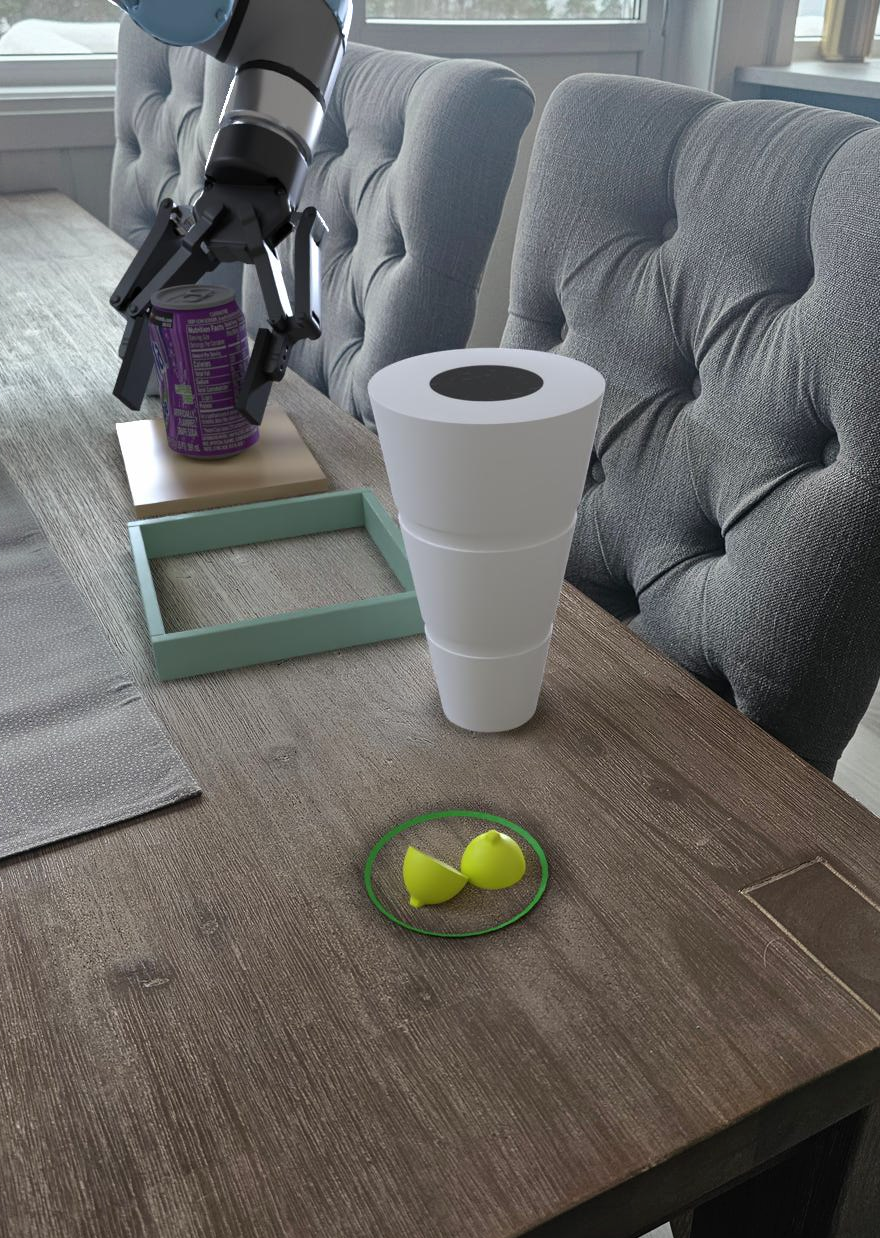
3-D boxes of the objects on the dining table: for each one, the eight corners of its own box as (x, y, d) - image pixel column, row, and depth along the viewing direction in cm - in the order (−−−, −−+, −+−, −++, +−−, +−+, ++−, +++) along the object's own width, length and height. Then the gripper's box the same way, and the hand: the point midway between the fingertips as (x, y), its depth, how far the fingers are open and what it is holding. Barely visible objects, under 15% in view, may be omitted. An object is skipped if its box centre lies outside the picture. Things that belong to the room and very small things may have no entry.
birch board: (328, 496, 85) (327, 478, 84) (138, 525, 81) (134, 505, 80) (282, 419, 99) (280, 403, 98) (118, 440, 95) (115, 423, 94)
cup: (365, 684, 63) (339, 364, 53) (539, 645, 66) (544, 337, 56) (429, 794, 54) (412, 438, 45) (625, 744, 58) (649, 402, 48)
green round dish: (465, 978, 44) (463, 926, 43) (326, 887, 49) (321, 838, 47) (584, 871, 50) (586, 822, 48) (449, 798, 54) (448, 751, 52)
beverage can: (192, 430, 93) (169, 280, 86) (273, 435, 91) (256, 284, 85) (154, 462, 87) (126, 304, 80) (240, 468, 85) (219, 308, 79)
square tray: (160, 689, 62) (151, 643, 61) (134, 562, 76) (126, 522, 74) (444, 635, 67) (443, 591, 65) (372, 525, 80) (369, 486, 79)
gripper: (410, 188, 89) (339, 447, 85) (164, 176, 95) (88, 416, 91) (379, 122, 82) (300, 401, 78) (116, 113, 88) (31, 371, 84)
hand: (185, 409), depth 84 cm, fingers open, 10 cm apart
